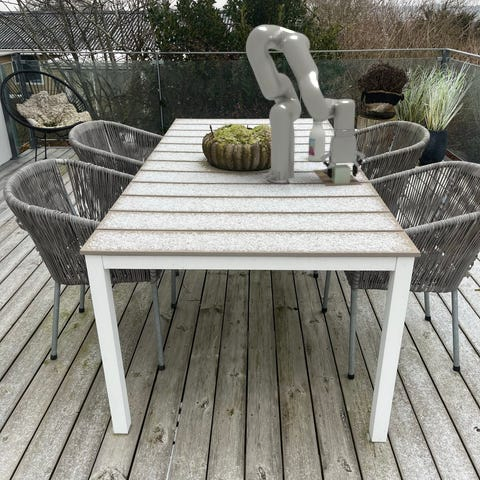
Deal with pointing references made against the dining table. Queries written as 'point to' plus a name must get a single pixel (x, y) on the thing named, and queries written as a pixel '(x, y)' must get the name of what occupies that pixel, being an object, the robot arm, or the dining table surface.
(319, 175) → the board
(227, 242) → the dining table surface
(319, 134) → the milk bottle
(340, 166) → the pale green cube
